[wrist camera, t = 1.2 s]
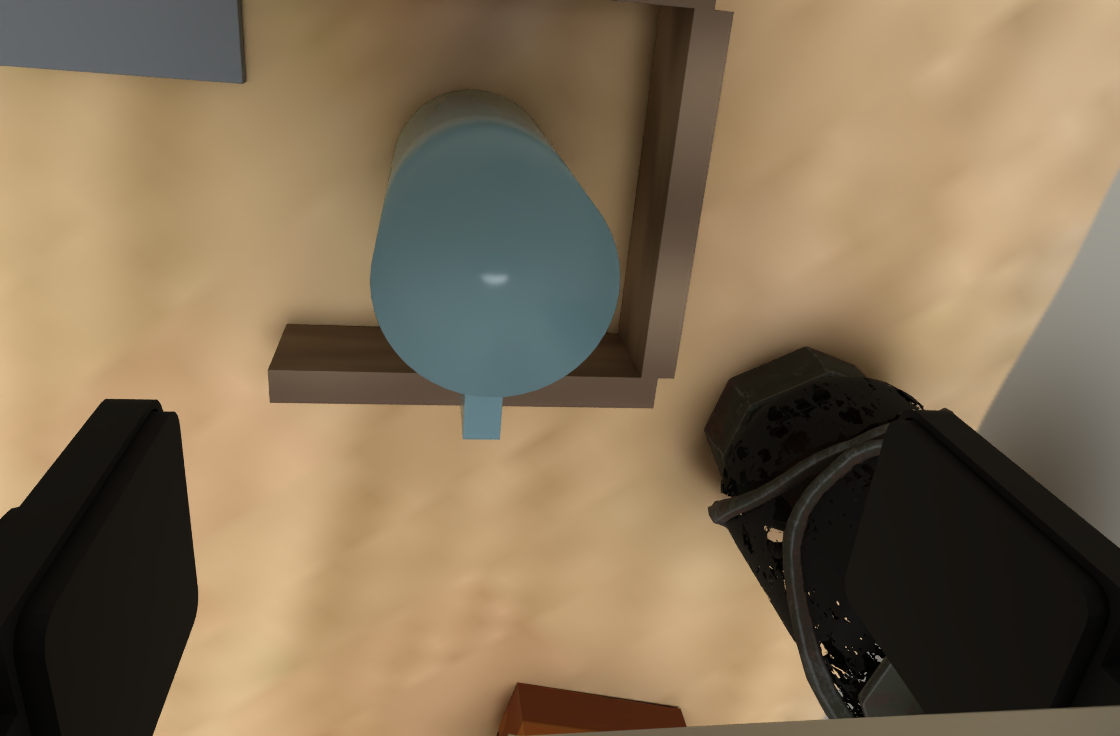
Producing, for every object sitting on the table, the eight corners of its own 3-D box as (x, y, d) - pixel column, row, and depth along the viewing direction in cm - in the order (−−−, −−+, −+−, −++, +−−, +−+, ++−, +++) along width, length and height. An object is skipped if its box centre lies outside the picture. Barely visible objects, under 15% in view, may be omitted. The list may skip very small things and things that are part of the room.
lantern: (713, 544, 38) (1265, 1643, 13) (649, 384, 34) (1272, 1530, 9) (912, 461, 38) (1880, 1429, 13) (871, 290, 34) (2175, 1209, 9)
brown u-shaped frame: (266, -78, 25) (239, -88, 22) (700, -32, 28) (740, -34, 24) (288, 353, 31) (269, 402, 28) (643, 362, 33) (669, 408, 30)
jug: (393, 83, 28) (369, 151, 17) (558, 96, 29) (635, 168, 18) (391, 304, 31) (370, 479, 20) (540, 309, 32) (595, 479, 21)
